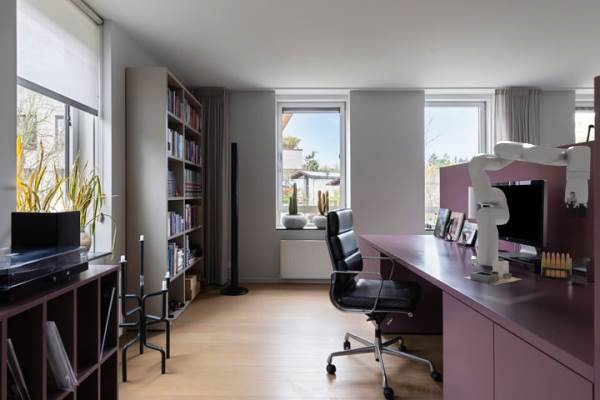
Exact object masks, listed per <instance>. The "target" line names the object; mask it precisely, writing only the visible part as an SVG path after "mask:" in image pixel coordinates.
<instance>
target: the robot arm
mask: <svg viewBox="0 0 600 400" xmlns="http://www.w3.org/2000/svg"><path fill="white" fill-rule="evenodd" d="M493 152H494V154H490V153H479V154H476V155H474V156H473V157H472V158H471V159H470V161H469V163H468V168H467V169H468V173H469V177H470V180H471V184H472V189H473V194H474V198H475V202H476V203H477V204H478V205H481V206H485V207H481V208H480V209H478V210H477V211H476V214H475V220H476V226H477V256H471V258H470V259H471V261H473V262H474V263H473V266H474V267H476V266H477V267H478V266H487V267H488V266H489V267H492V268H493V260H498V258H499V230H498V227H497V226H499V225H500V226H501V225H506V224H507V223H508V222H509V220H510V212H509V206H508V203H507V202H508V201H507V197H506V195H505V193H504V191H503V190H501V189H500V188H497V187H493V186H492V184H491V179H490V177H489V176H488V174H487V173H486V171H499V170H501V169H503V168H505V167H507V166H508V165H510V164H511V163H513V162H514V161H519V162H529V163H534V164H540V165H545V166H546V165H548V166H556V167H563V166H565V167H566V179H565V180H566V183H565V184H566V185H565V193H564V202H565V204H566V218H574V219H576V218H587V217H588V201H589V184H588V183H589V182H588V181H589V180H590V179H591V147H589V146H587V145H577V146H571V147H568V148H559V147H551V146H543V145H542V146H540V145H533V144H531V143H526V142H520V141H519V142H518V141H510V140H509V141H508V140H502V141H499V142H497V143H496V144H495V145H494V147H493Z"/></svg>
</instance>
